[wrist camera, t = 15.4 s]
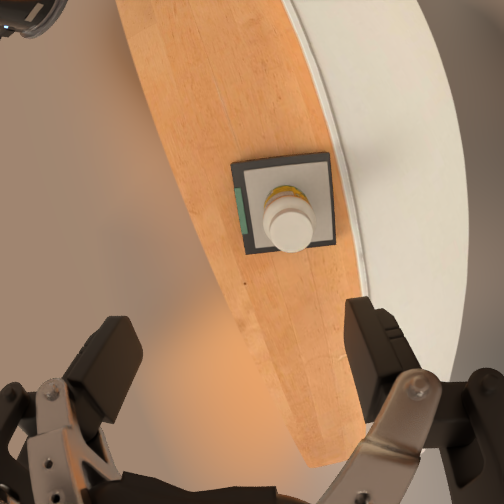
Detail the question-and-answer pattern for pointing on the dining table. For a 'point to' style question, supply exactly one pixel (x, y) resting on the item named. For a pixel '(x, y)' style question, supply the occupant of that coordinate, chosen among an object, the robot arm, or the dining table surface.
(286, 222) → the supplement bottle
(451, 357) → the dining table surface
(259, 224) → the scale
